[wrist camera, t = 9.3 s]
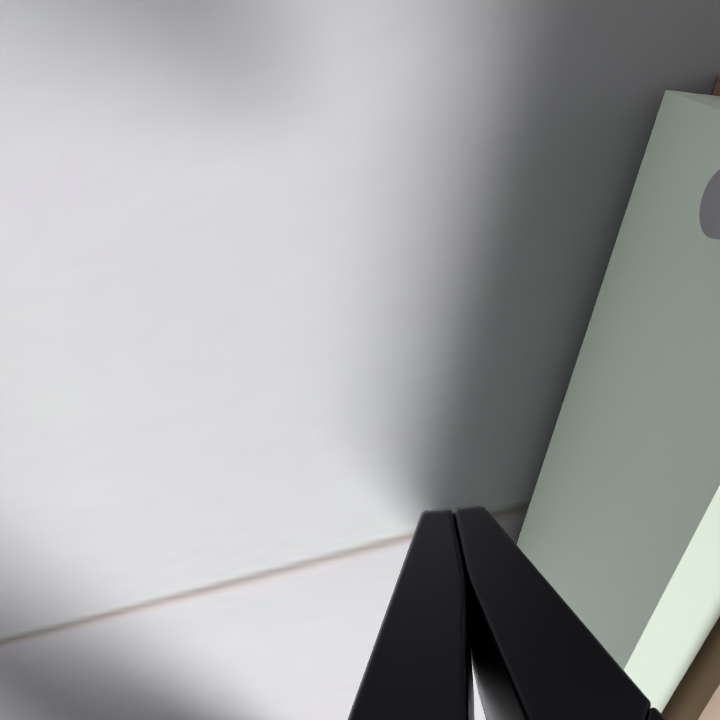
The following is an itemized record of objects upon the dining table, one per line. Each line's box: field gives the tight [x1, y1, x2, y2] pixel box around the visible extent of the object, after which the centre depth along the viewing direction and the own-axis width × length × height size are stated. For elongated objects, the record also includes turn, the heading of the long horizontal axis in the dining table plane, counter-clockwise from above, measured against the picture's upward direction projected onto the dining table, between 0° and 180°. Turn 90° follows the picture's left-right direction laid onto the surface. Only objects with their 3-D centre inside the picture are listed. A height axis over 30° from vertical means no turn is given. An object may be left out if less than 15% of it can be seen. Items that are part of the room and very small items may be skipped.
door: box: [517, 90, 720, 713], centre depth 14 cm, size 2×16×6 cm, turn 174°
